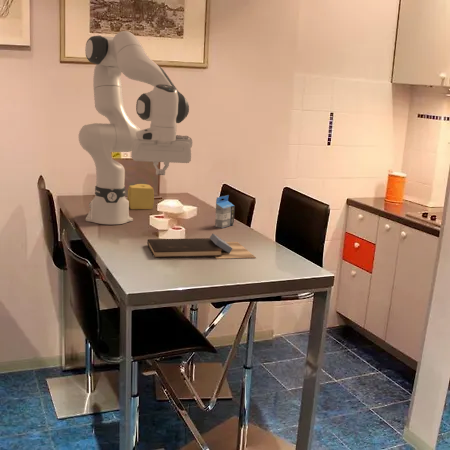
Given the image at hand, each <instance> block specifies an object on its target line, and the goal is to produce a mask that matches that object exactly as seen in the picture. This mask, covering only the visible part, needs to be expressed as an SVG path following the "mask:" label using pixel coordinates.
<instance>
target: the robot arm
mask: <svg viewBox="0 0 450 450" xmlns="http://www.w3.org/2000/svg"><path fill="white" fill-rule="evenodd" d="M84 48H85V58H86V59H87V61H88V62H89V63H92V64H94V65H95V66H94V71H93V94H94V95H93V98H94V99H93V100H94V108H95V110H96V111H97V113H98V114H100V115H101V116H103V117H104V118H106V119H107V120H108V121H109V123H97V122H96V123H95V122H94V123H90V124H89V123H88V124H84V125H83V126H82V127H81V128H80V129H79V132H78V142H79V144H80V146H81V148H82V149H83V150H85V151H86V152H87V153H88V154H89V155H90V157H91V158H92V160H93V162H94V165H95V172H96V176H95V177H96V182H95V183H96V185H95V186H94V187H95V188H94V195H95V196H94V198H93V199H92V200H91V201H90V202H89V203H88V208H89V211H88V213H87V215H86V217H85V221H86V222H92V223H95V224H100V225H121V224H126V223H128V222H133V221H134V218H133V217H131V216H130V214H129V213H130V207H129V201H128V200H127V197H126V193H127V191H126V187H125V180H126V179H125V178H126V169H125V167H124V164H121V163H120V162H119V161H118V160H115V159H113V156H112V153H130V152H131V156H130V157H131V159H132V160H133V161H134V162H150V163H151V162H152V165H153V167H154V168H155V175H156V176H165V175H166V171H167V170H168V168H169V167H170V163H173V164H175V163H176V164H189V163H190V162H191V161H192V149H191V148H192V146H193V139H192V138H191V137H190V136H189V135H180V134H179V135H178V134H177V127H178V126H177V124H181V123H182V122H183V121H184V120H185V119H186V118H187V116H188V115H189V113H190V104H189V102H188V100H187V99H186V97H185V96H184V95H183V94H182V93H181V92H180V91H179V90H178V89H177V87H176V86H175V84H174V83H173V82H172V80H171V79H170V77H169V76H168V75H167V73H166V71H165V70H164V69H163V68H162V67H161V66H160V65H159V64H157V63H156V62H155V61H153V59H151V58H150V56H149V55H148V54H147V53H146V51H145V49H144V47H143V45H142V44H141V42H140V40H139V39H138V38H137V36H135V34H134V33H133V32H130V31H127V30H123V31H122V30H121V31H119V32H118V33H116V34H115V35H114V36H102V35H93V36H90V37H89V38H87V41H86V43H85V47H84ZM122 74H123V75H124V77H126V78H127V79H130V80H133V81H137V82H142V83H144V84H147V85H150V86H152V87H153V89H152V90H151V91H148V92H144V93H142V94H140V95H139V97H138V98H137V100H136V106H135V108H136V114H137V115H138V117H139V118H140V119H141V120H143V121H147V122H150V127H148V128H145V129H141V128H140V127H139V126H138V125H137V124H136V123H134V122H133V120H132V119H131V118H130V116H129V115H128V113H127V111H126V108H125V101H124V97H123V96H124V95H123V86H122V85H123V84H122V77H121V75H122ZM159 163H163V165H164V166H163V167H162V169H161V168H159V167H158V166H159Z"/></svg>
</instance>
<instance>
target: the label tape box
mask: <svg viewBox="0 0 450 450" xmlns="http://www.w3.org/2000/svg"><path fill="white" fill-rule="evenodd" d="M229 196H230V195H229V194H227V195H222V196H218V197H216V200H215V201H216V202H215V215H214V216H215V221H214V227H215V228H219V229H224V228H227V227H230V226H234V224H235V207H236V206H235V205H234V204H233V203H232V202H230V201H229ZM222 199H223V200H222Z"/></svg>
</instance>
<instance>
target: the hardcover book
mask: <svg viewBox="0 0 450 450" xmlns="http://www.w3.org/2000/svg"><path fill="white" fill-rule="evenodd" d="M146 243H147V248H148V249H149V251H150V253H151V254H152V256H153V258H154V259H167V258H170V259H174V258H175V259H176V258H177V259H178V258H208V257H209V258H211V257H212V258H213V257H220V256H222V255H221V251H222V250H221V249H220V247H219V246H217V245H216V244H215V243H214V242H213V241H212V240H211V239H210V237H207V238H205V237H203V238H197V237H195V238H194V237H193V238H149V239H147V242H146Z"/></svg>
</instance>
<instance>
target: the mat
mask: <svg viewBox="0 0 450 450" xmlns="http://www.w3.org/2000/svg"><path fill="white" fill-rule="evenodd" d="M225 242H226V243H227V244H228V245H229V246H230V247H231V248H232V250H231V252H230V253H228V252H226V251H225V250H223V249H222V248H220V249H221V250H222V251H221V255H222V256H220V257H215V259H216V260H224V259H225V260H228V259H230V260H231V258H237V259H238V258H239V259H256V256H255V255H254V254H253V253H251V252H250V251H249V250H248V249H246V248H245V247H244V246H243V245H242V244H240V242H238V241H225ZM239 259H238V260H239Z"/></svg>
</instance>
